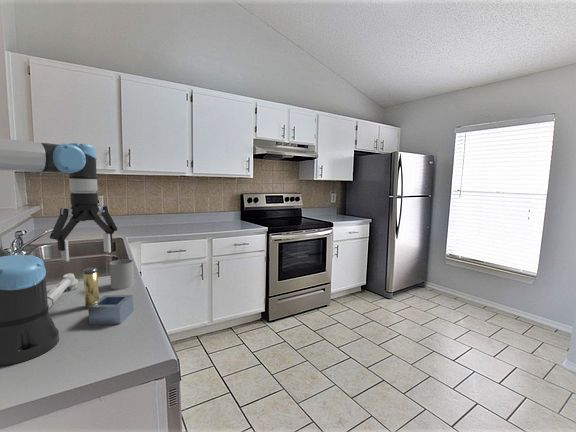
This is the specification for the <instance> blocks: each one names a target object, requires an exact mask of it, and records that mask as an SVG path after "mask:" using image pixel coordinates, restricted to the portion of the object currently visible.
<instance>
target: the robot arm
mask: <svg viewBox="0 0 576 432" xmlns="http://www.w3.org/2000/svg"><path fill="white" fill-rule="evenodd" d="M96 154H97V153H96V148H95V146H94V145H91V144H88V143H87V144H86V143H77V142H76V143H75V142H71V143H61V144H58V143H57V144H56V143H49V142H40V141H30V140H29V141H28V140H20V139H10V138H1V137H0V171H7V172H8V171H10V172H13V171H15V172H18V171H19V172H25V173H34V174H37V173H39V174H43V173H44V174H68V180H69V191H70V192H71V193H70V194H69V196H70V205H71V206H70V208H67V207H65V208H64V207H61V208H60V210H59V216H58V217H57V220H56V221H55V225H54V226H53V228H52V231H51V233H50V235H49V238H50V239H51V240H56V241H57V250H58V251H59V252H60V255H61V261H64V262H69V261H70V254H69V252H70V251H69V248H70V247H69V240H67V237H68V236H69V235H70V233H71V232H73V230H74V228H75V227H76V226H77V224H79V223H81V222H86V221H93V222H94V223H95V224H96V225H98V227H99V228H100V229H102V231H103V232H105V233H102V235H103V239H102V240H103V252H105V253H112V248H111V247H112V245H111V244H112V242H113V234H114V233H115V232H117V231H118V227H117V226H116V223H115V221H114V220H113V218H112V216H111V214H110V213H109V208H108V205H100V206H98V204H99V194H98V193H97V192H98V189H99V188H98V177H97V155H96ZM98 213H100V214H101V216H102V218H103V219H104V220H103V219H102V218H101V217H100V216H99V215H98ZM70 215H72V216H71V217H70V219H69V221H68V222H67V220H68V218H69V216H70ZM46 274H47V269H46V267H45V263H44V260H43V259H41V258H40V257H38V256H37V255H32V254H27V255H26V254H11V253H9V252H7V251H6V250H5V249H3V248H2V247H0V367H3V366H9V365H14V364H18V363H22V362H25V361H29V360H31V359H34V358H38V357H39V356H41V355H43V354H45V353H47V352H49V351H50V350H52V349H53V348H54V347H56V345H57V344H59V341H60V333H59V329H58V328H57V327H56V324H55V322H54V321H53V319H52V317H51V315H50V313H49V309H48V300H47V293H48V291H47V279H46V278H47V277H46V276H47V275H46Z"/></svg>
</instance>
